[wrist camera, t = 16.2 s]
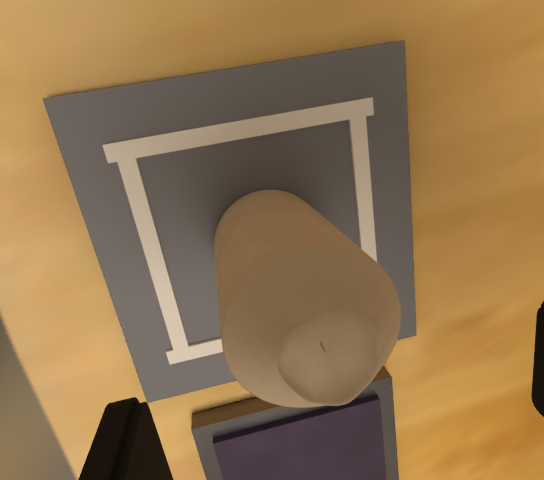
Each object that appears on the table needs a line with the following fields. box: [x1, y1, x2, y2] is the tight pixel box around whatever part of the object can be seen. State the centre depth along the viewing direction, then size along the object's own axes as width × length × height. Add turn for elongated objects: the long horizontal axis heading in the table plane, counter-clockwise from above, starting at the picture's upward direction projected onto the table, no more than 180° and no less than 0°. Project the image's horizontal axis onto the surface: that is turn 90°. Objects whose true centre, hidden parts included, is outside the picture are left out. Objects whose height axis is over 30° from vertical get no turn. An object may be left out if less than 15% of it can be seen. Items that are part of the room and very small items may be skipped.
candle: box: [214, 190, 401, 408], centre depth 15 cm, size 6×6×10 cm
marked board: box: [43, 40, 416, 403], centre depth 19 cm, size 16×16×1 cm
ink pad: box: [191, 366, 399, 480], centre depth 24 cm, size 12×12×2 cm
